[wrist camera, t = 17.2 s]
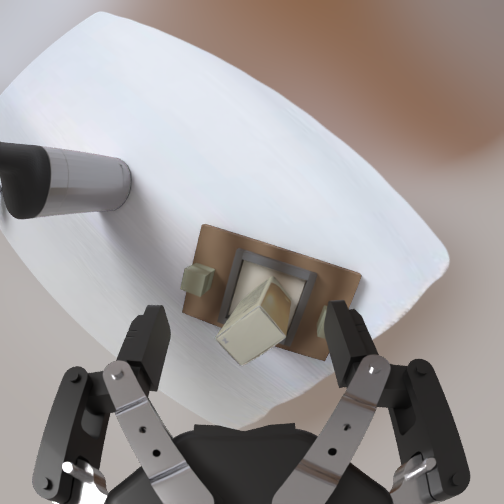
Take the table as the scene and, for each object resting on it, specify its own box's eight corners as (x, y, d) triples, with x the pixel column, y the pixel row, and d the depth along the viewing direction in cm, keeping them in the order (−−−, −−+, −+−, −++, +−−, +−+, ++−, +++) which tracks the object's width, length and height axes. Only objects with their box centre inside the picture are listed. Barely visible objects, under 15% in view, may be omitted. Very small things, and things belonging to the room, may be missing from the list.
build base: (186, 308, 42) (170, 322, 37) (205, 223, 39) (190, 227, 34) (324, 356, 39) (325, 375, 34) (359, 273, 36) (367, 284, 31)
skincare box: (259, 323, 39) (239, 369, 27) (239, 300, 39) (211, 339, 27) (294, 297, 37) (288, 338, 25) (274, 273, 37) (258, 305, 25)
